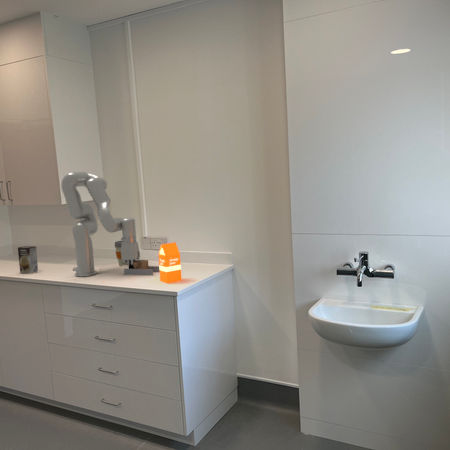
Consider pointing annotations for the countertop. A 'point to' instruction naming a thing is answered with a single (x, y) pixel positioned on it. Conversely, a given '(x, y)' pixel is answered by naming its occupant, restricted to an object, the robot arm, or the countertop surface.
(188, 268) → the countertop surface
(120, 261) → the reusable coffee cup
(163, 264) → the orange juice
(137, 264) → the block
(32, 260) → the coffee box
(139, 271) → the chute
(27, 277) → the countertop surface
